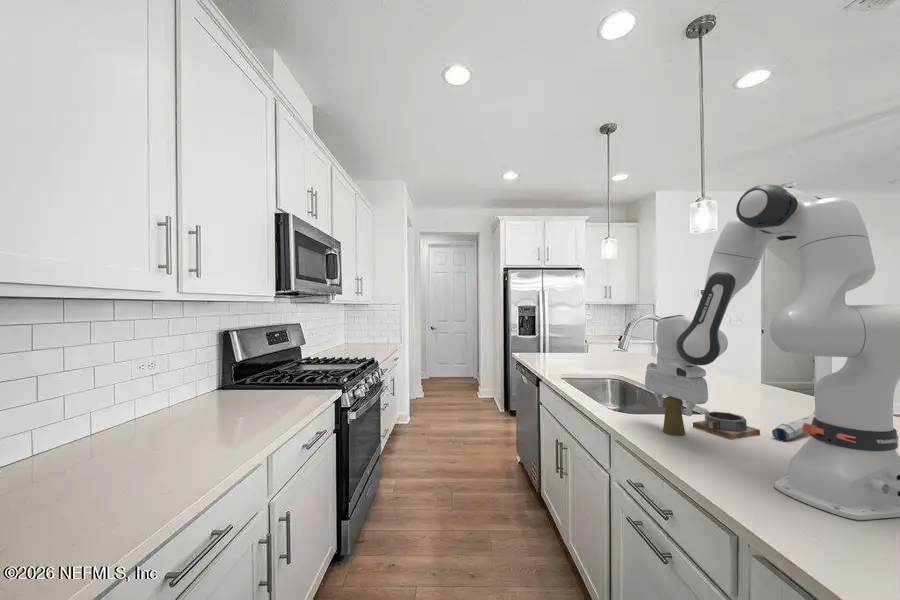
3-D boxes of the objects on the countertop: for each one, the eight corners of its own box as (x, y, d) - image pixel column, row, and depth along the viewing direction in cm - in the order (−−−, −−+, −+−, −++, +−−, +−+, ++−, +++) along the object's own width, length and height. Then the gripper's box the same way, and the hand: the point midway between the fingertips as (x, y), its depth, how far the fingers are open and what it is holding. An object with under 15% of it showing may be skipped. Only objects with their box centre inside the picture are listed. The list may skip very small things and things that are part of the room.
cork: (689, 433, 113) (688, 397, 113) (680, 437, 110) (678, 400, 110) (668, 428, 118) (667, 393, 118) (659, 432, 115) (657, 396, 115)
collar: (727, 433, 108) (726, 423, 108) (695, 423, 118) (695, 413, 118) (753, 429, 111) (753, 419, 111) (721, 419, 121) (720, 410, 121)
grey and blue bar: (768, 425, 108) (815, 403, 117) (771, 447, 109) (818, 424, 118) (790, 430, 103) (837, 407, 113) (792, 453, 104) (840, 429, 113)
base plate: (730, 439, 107) (730, 434, 107) (692, 427, 119) (692, 422, 119) (760, 434, 111) (759, 429, 111) (720, 423, 122) (720, 418, 122)
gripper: (639, 362, 124) (640, 403, 124) (694, 373, 104) (695, 422, 104) (654, 361, 126) (655, 401, 126) (711, 371, 106) (712, 419, 106)
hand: (674, 411), depth 115 cm, fingers open, 8 cm apart
